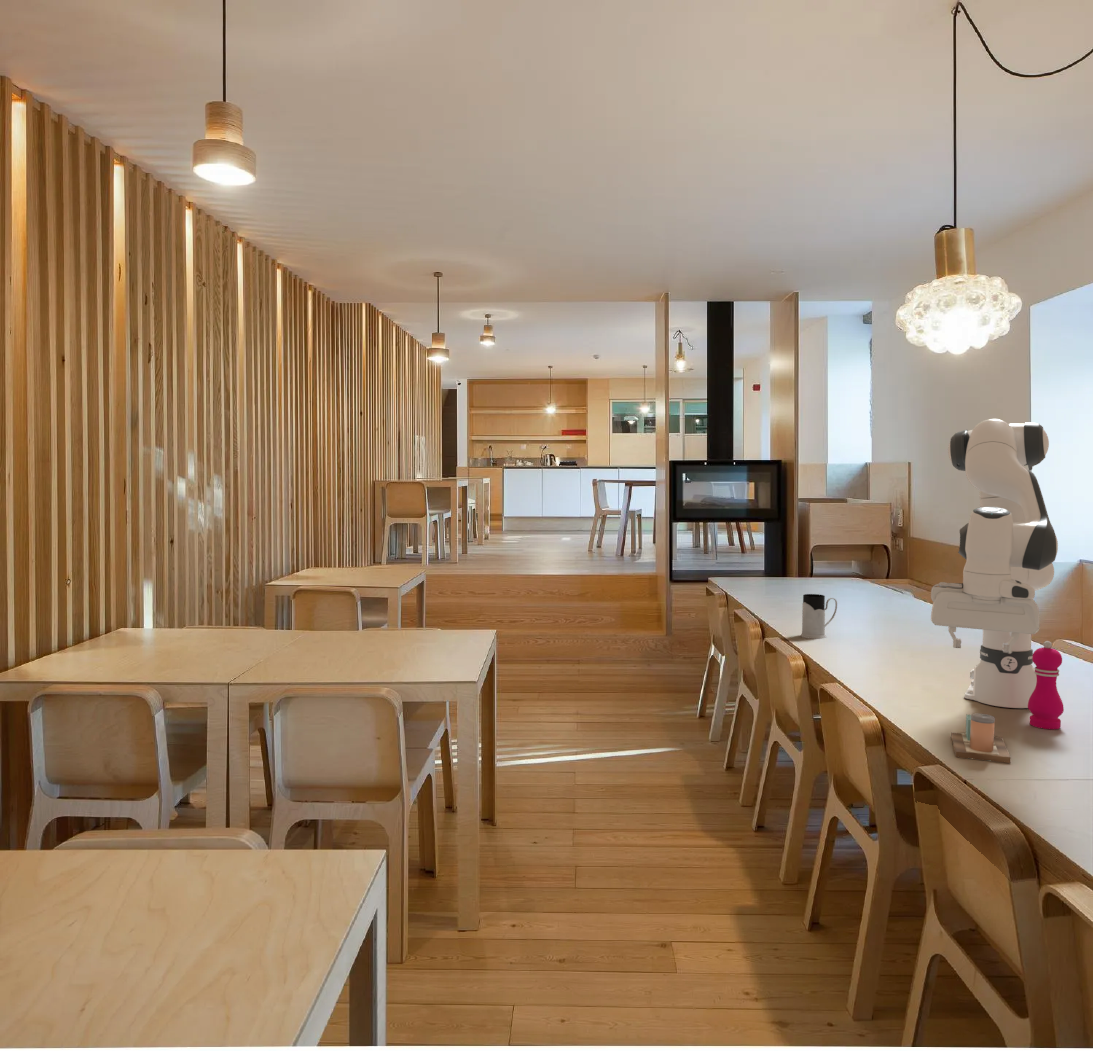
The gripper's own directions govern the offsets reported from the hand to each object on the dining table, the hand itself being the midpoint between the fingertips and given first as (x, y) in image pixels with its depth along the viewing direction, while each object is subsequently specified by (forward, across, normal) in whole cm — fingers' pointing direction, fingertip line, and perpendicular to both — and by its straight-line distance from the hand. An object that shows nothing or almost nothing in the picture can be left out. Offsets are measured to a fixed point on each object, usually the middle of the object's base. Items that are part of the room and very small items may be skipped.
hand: (981, 650), depth 177 cm
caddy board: (+22, +1, 0) cm, 22 cm away
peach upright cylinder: (+20, +1, -3) cm, 20 cm away
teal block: (+20, +1, +4) cm, 21 cm away
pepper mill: (+22, +17, +26) cm, 38 cm away
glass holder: (+28, -41, +121) cm, 131 cm away
